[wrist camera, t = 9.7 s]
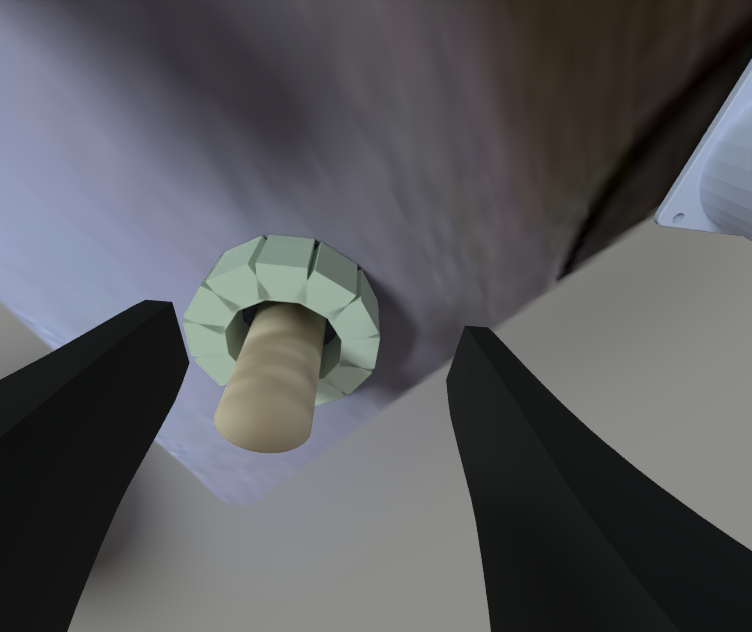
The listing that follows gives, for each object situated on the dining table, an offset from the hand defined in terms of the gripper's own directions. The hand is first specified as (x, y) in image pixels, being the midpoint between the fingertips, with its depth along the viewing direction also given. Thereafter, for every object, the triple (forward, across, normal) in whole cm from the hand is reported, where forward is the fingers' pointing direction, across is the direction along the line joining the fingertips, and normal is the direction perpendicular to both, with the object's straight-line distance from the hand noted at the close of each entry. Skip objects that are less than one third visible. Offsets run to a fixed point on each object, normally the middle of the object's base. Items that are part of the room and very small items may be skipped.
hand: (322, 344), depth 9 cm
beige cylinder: (+10, +3, +7) cm, 13 cm away
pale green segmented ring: (+10, +3, +7) cm, 13 cm away
